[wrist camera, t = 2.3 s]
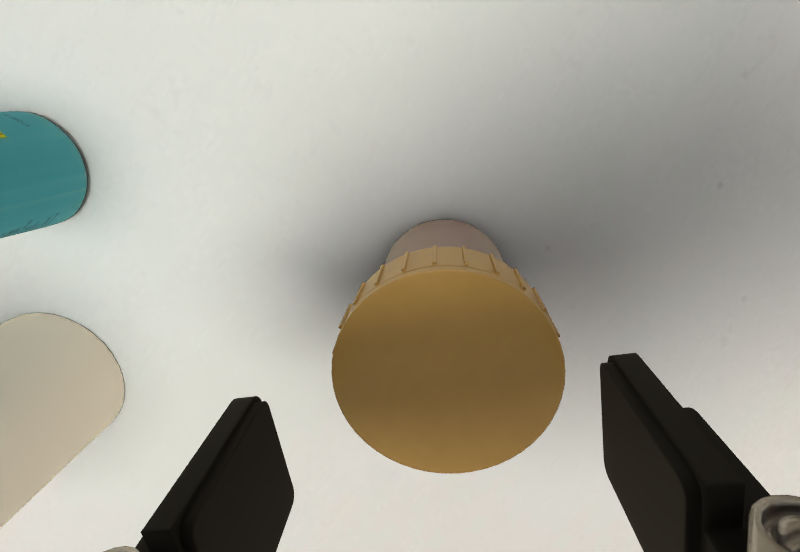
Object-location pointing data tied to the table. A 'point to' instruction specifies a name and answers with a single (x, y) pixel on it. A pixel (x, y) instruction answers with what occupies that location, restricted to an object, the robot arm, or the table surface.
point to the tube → (37, 174)
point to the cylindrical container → (49, 401)
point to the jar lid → (448, 361)
